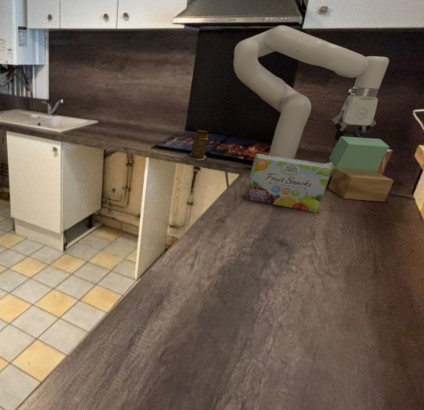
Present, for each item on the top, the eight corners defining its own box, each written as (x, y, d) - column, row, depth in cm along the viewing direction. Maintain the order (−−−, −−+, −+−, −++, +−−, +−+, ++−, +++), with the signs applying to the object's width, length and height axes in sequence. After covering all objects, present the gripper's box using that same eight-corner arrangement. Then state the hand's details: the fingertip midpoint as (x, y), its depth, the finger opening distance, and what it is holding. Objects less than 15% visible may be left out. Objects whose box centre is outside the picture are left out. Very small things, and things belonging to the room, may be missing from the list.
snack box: (245, 200, 120) (256, 156, 113) (244, 194, 124) (255, 152, 118) (317, 213, 113) (333, 167, 107) (313, 206, 118) (329, 163, 111)
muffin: (318, 169, 151) (329, 155, 148) (331, 175, 151) (343, 161, 148) (323, 173, 146) (335, 159, 143) (337, 180, 146) (349, 166, 143)
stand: (328, 188, 135) (335, 168, 132) (366, 191, 135) (374, 171, 131) (343, 198, 126) (351, 177, 123) (384, 201, 126) (393, 180, 122)
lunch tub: (335, 168, 132) (321, 152, 141) (374, 171, 131) (357, 154, 141) (349, 142, 126) (333, 127, 135) (390, 145, 125) (372, 130, 134)
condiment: (206, 156, 166) (211, 131, 162) (202, 160, 160) (208, 134, 155) (190, 153, 170) (195, 128, 165) (186, 157, 163) (191, 131, 158)
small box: (372, 183, 144) (385, 152, 138) (354, 178, 148) (366, 148, 143) (380, 180, 148) (393, 149, 142) (363, 175, 152) (374, 146, 147)
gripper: (345, 92, 127) (328, 142, 135) (396, 95, 126) (376, 145, 134) (333, 90, 134) (318, 137, 141) (381, 93, 133) (363, 140, 140)
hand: (346, 141), depth 137 cm, fingers closed on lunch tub, 6 cm apart
